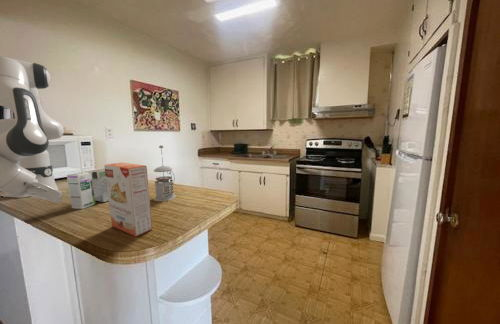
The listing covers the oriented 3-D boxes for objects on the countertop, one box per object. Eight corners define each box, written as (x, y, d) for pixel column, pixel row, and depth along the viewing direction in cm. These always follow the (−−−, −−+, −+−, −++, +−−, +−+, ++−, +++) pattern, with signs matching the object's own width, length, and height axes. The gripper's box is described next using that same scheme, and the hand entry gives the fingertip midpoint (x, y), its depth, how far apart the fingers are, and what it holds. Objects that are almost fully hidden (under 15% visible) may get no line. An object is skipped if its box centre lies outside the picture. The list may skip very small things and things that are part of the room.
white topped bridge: (101, 203, 90) (98, 172, 88) (88, 200, 95) (84, 171, 93) (134, 194, 104) (131, 167, 102) (121, 192, 109) (118, 166, 107)
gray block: (103, 202, 91) (100, 173, 90) (92, 199, 95) (89, 172, 93) (110, 200, 94) (107, 172, 92) (99, 198, 98) (96, 171, 96)
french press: (149, 200, 94) (144, 146, 91) (166, 193, 105) (162, 144, 102) (166, 202, 91) (162, 146, 88) (182, 194, 102) (179, 144, 99)
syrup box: (82, 209, 84) (78, 174, 82) (71, 208, 85) (66, 174, 83) (95, 204, 90) (91, 172, 88) (84, 203, 91) (80, 171, 89)
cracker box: (110, 227, 67) (103, 164, 64) (129, 220, 72) (123, 161, 69) (134, 238, 60) (127, 167, 57) (153, 229, 65) (147, 164, 62)
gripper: (40, 176, 67) (79, 196, 77) (14, 172, 76) (52, 191, 86) (24, 193, 64) (66, 212, 74) (-2, 187, 72) (40, 204, 82)
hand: (59, 200), depth 80 cm, fingers closed
